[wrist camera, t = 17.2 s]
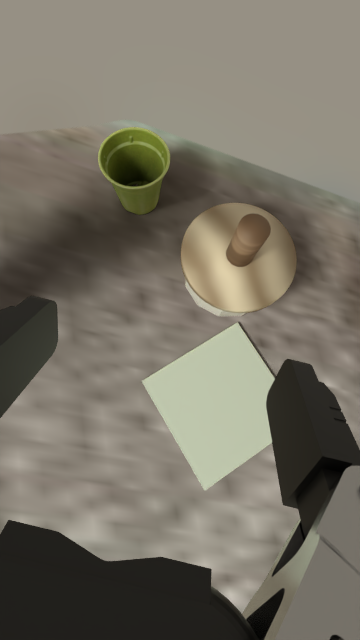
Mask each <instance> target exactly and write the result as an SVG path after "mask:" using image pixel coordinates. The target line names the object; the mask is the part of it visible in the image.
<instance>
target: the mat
mask: <svg viewBox="0 0 360 640" xmlns="http://www.w3.org/2000/svg"><path fill="white" fill-rule="evenodd" d="M274 380H275V378H274V377H273V375H272V374H271V372H270V371H269V369H268V368H267V366H266V365H265V363H264V362H263V360H262V359H261V357H260V356H259V354H258V353H257V351H256V350H255V348H254V347H253V345H252V343H251V342H250V340H249V339H248V337H247V336H246V334H245V333H244V331H243V330H242V328H241V327H240V325H239V324H238V322H237V323H236V324H234V325H232V326H231V327H229V328H228V329H226V330H224V331H223V332H221V333H219V334H218V335H216V336H215V337H213V338H211V339H210V340H208V341H206V342H205V343H203V344H202V345H200V346H198V347H197V348H195V349H193V350H192V351H190V352H188V353H187V354H185V355H184V356H182V357H180V358H179V359H177V360H175V361H174V362H172V363H171V364H169V365H167V366H166V367H164V368H162V369H161V370H159V371H158V372H156V373H154V374H153V375H151V376H149V377H148V378H146V379H145V380H143V381H142V383H143V384H144V386H145V388H146V390H147V391H148V393H149V395H150V397H151V398H152V400H153V402H154V403H155V405H156V407H157V409H158V410H159V412H160V414H161V416H162V417H163V419H164V421H165V423H166V424H167V426H168V428H169V430H170V431H171V433H172V435H173V436H174V438H175V440H176V442H177V443H178V445H179V447H180V449H181V450H182V452H183V454H184V456H185V457H186V459H187V461H188V462H189V464H190V466H191V468H192V469H193V471H194V473H195V475H196V476H197V478H198V480H199V482H200V483H201V485H202V487H203V489H204V490H206V489H208V488H209V487H210V486H212V485H213V484H215V483H216V482H217V481H219V480H220V479H222V478H223V477H224V476H226V475H227V474H229V473H230V472H231V471H233V470H234V469H236V468H237V467H238V466H240V465H241V464H243V463H244V462H245V461H247V460H248V459H250V458H251V457H252V456H254V455H255V454H257V453H258V452H259V451H261V450H262V449H264V448H265V447H266V446H268V445H269V444H271V443H272V438H271V432H270V427H269V421H268V415H267V409H266V400H267V395H268V392H269V389H270V387H271V385H272V384H273V382H274Z"/></svg>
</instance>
